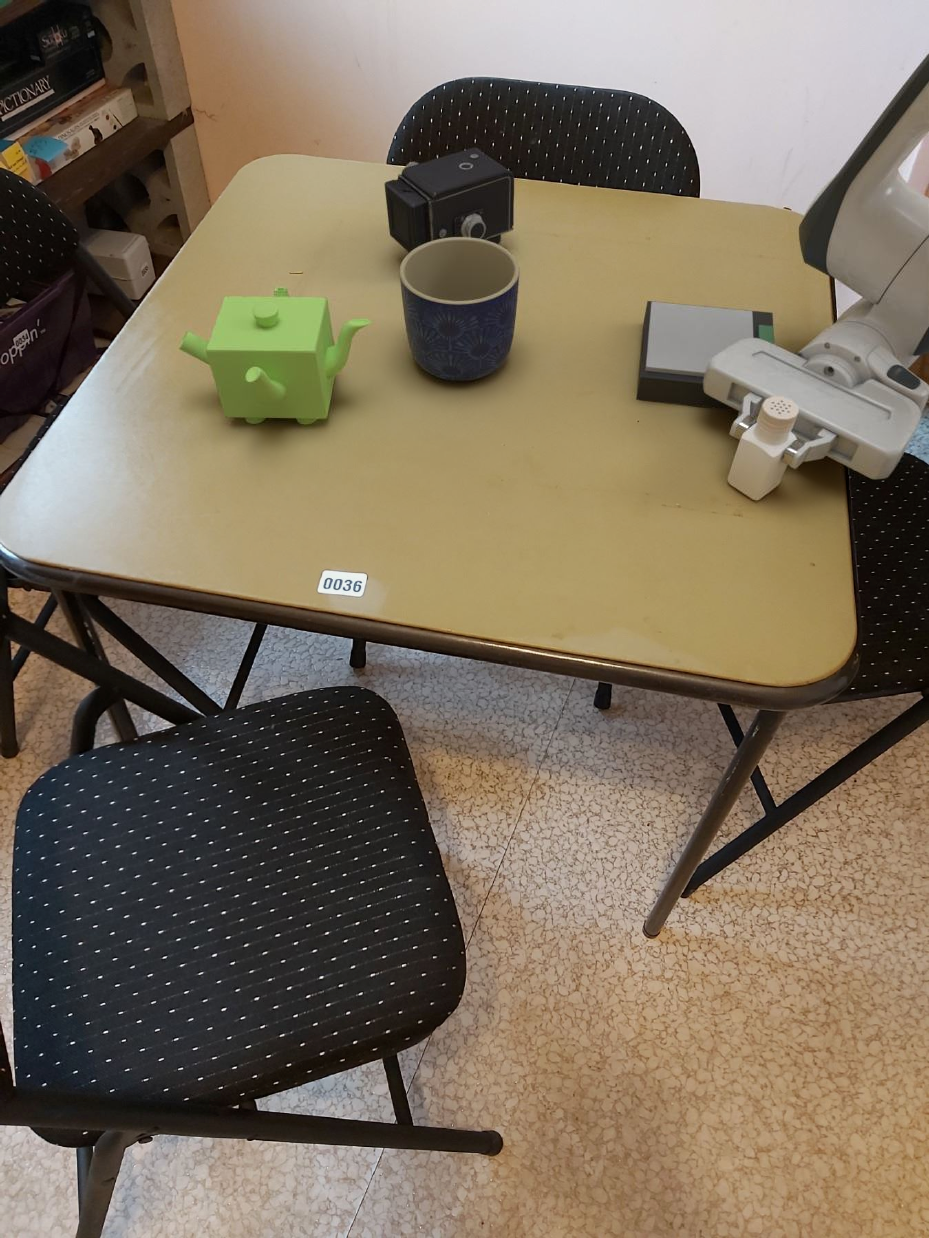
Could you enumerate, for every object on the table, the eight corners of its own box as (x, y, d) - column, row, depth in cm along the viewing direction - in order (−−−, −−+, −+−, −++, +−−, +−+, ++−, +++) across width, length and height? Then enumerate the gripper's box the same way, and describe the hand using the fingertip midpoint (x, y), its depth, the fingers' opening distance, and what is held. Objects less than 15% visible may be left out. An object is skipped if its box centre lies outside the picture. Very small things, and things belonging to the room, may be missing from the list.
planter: (461, 312, 100) (460, 223, 91) (538, 358, 95) (544, 268, 86) (383, 358, 95) (374, 268, 86) (459, 408, 90) (457, 318, 81)
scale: (765, 335, 97) (774, 307, 94) (769, 414, 89) (779, 386, 86) (643, 323, 98) (648, 296, 95) (636, 399, 90) (641, 372, 87)
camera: (472, 229, 113) (375, 252, 107) (480, 138, 105) (375, 158, 99) (518, 264, 108) (419, 290, 102) (530, 172, 99) (422, 194, 93)
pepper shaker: (723, 483, 83) (748, 406, 75) (748, 464, 84) (776, 387, 76) (756, 505, 81) (785, 428, 73) (781, 485, 82) (812, 408, 75)
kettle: (381, 401, 90) (371, 309, 81) (277, 467, 85) (253, 376, 76) (295, 342, 97) (276, 250, 88) (192, 400, 91) (161, 308, 82)
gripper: (754, 308, 85) (676, 370, 79) (948, 395, 77) (877, 472, 71) (739, 360, 90) (664, 422, 84) (919, 447, 82) (850, 523, 76)
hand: (763, 446), depth 78 cm, fingers closed on pepper shaker, 4 cm apart
